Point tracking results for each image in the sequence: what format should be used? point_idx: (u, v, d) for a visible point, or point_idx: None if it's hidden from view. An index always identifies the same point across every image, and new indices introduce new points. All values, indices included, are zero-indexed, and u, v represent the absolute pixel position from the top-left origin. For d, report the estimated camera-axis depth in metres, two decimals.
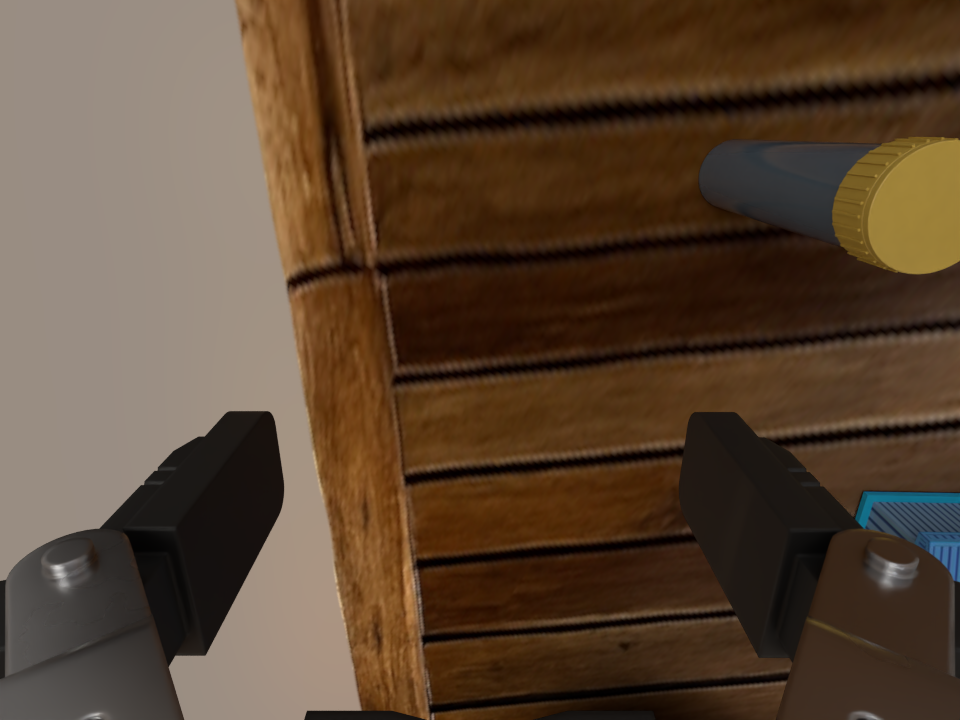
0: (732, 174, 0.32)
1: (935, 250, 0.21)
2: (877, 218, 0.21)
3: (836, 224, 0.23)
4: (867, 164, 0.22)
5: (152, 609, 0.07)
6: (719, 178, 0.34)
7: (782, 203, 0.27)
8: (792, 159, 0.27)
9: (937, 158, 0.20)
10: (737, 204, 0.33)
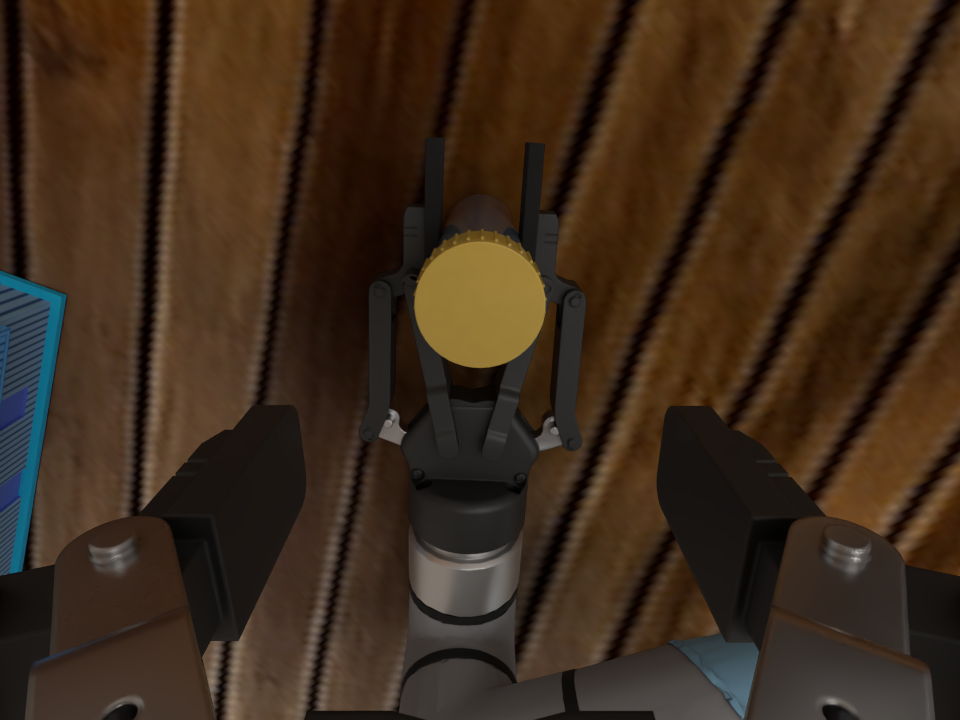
0: (500, 208, 0.32)
1: (437, 303, 0.20)
2: (493, 252, 0.20)
3: (483, 230, 0.21)
4: (534, 265, 0.22)
5: (191, 594, 0.07)
6: (494, 203, 0.33)
7: (486, 219, 0.26)
8: (520, 241, 0.27)
9: (529, 314, 0.21)
10: (471, 205, 0.31)
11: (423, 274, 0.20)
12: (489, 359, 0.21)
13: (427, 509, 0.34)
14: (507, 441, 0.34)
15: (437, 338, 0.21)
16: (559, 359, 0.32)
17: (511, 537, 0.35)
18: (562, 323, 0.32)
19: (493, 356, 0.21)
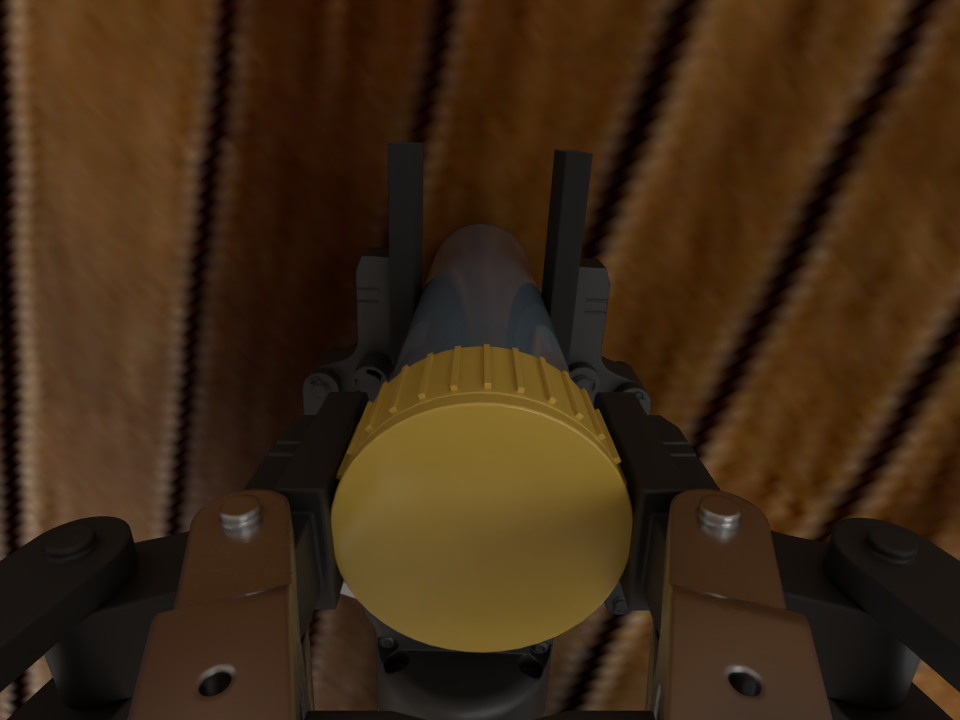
0: (512, 254, 0.20)
1: (383, 532, 0.09)
2: (514, 427, 0.08)
3: (488, 350, 0.10)
4: (600, 425, 0.10)
5: (304, 562, 0.08)
6: (503, 242, 0.22)
7: (491, 292, 0.14)
8: (552, 325, 0.15)
9: (596, 552, 0.09)
10: (467, 250, 0.20)
11: (347, 472, 0.08)
12: (502, 637, 0.10)
13: (400, 707, 0.22)
14: None
15: (385, 599, 0.09)
16: None
17: None
18: None
19: (511, 632, 0.10)
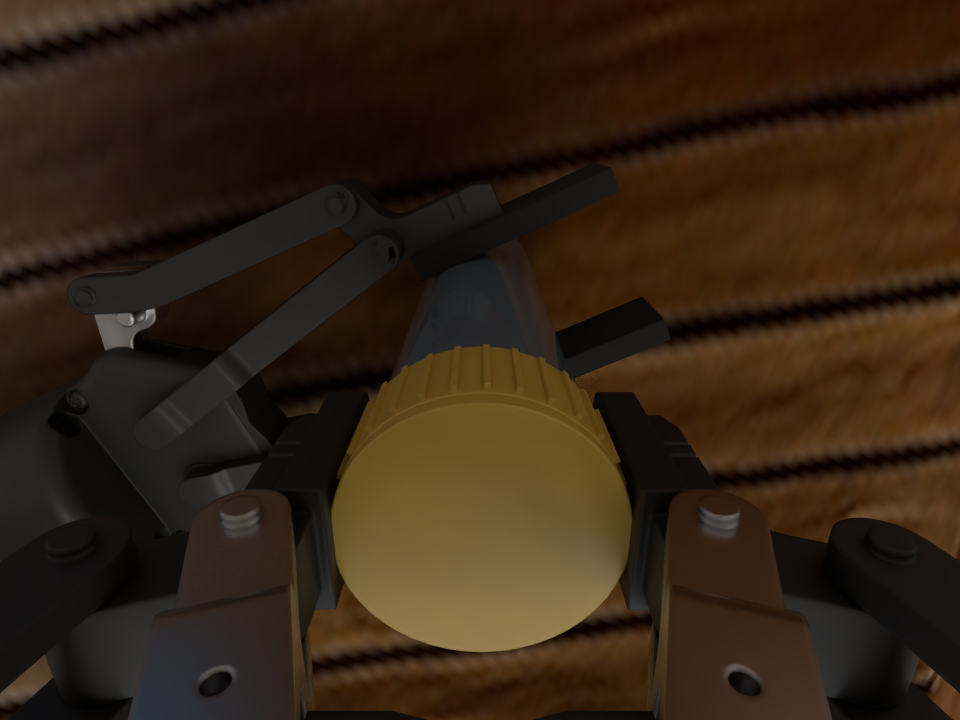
0: None
1: (383, 532, 0.09)
2: (514, 427, 0.08)
3: (488, 350, 0.10)
4: (600, 425, 0.10)
5: (304, 562, 0.08)
6: None
7: None
8: None
9: (595, 552, 0.09)
10: (529, 270, 0.20)
11: (347, 472, 0.08)
12: (502, 637, 0.10)
13: (23, 461, 0.18)
14: None
15: (385, 599, 0.09)
16: None
17: None
18: None
19: (511, 631, 0.10)
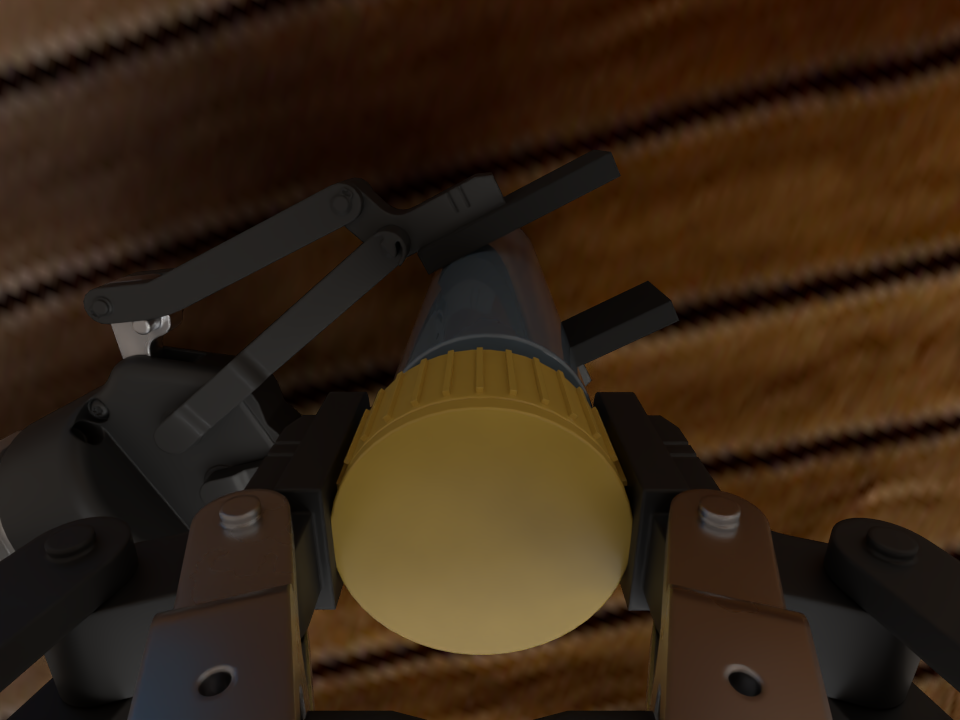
0: None
1: (431, 607, 0.09)
2: (376, 470, 0.08)
3: (363, 417, 0.10)
4: (476, 364, 0.09)
5: (303, 562, 0.08)
6: None
7: None
8: None
9: (552, 461, 0.08)
10: (533, 260, 0.20)
11: (361, 602, 0.09)
12: (603, 574, 0.09)
13: (49, 470, 0.19)
14: None
15: (501, 636, 0.10)
16: None
17: None
18: None
19: (602, 565, 0.09)
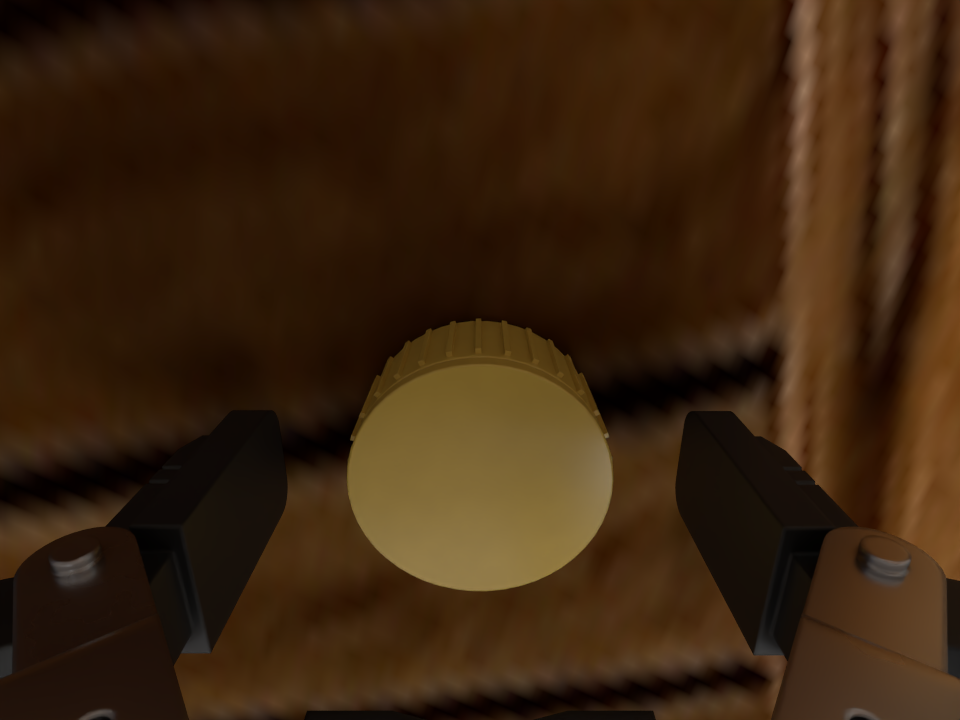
0: None
1: (435, 546, 0.11)
2: (388, 421, 0.10)
3: (374, 381, 0.11)
4: (475, 332, 0.11)
5: (158, 606, 0.07)
6: None
7: None
8: None
9: (542, 412, 0.10)
10: None
11: (374, 542, 0.11)
12: (587, 516, 0.10)
13: None
14: None
15: (497, 574, 0.11)
16: None
17: None
18: None
19: (586, 507, 0.10)
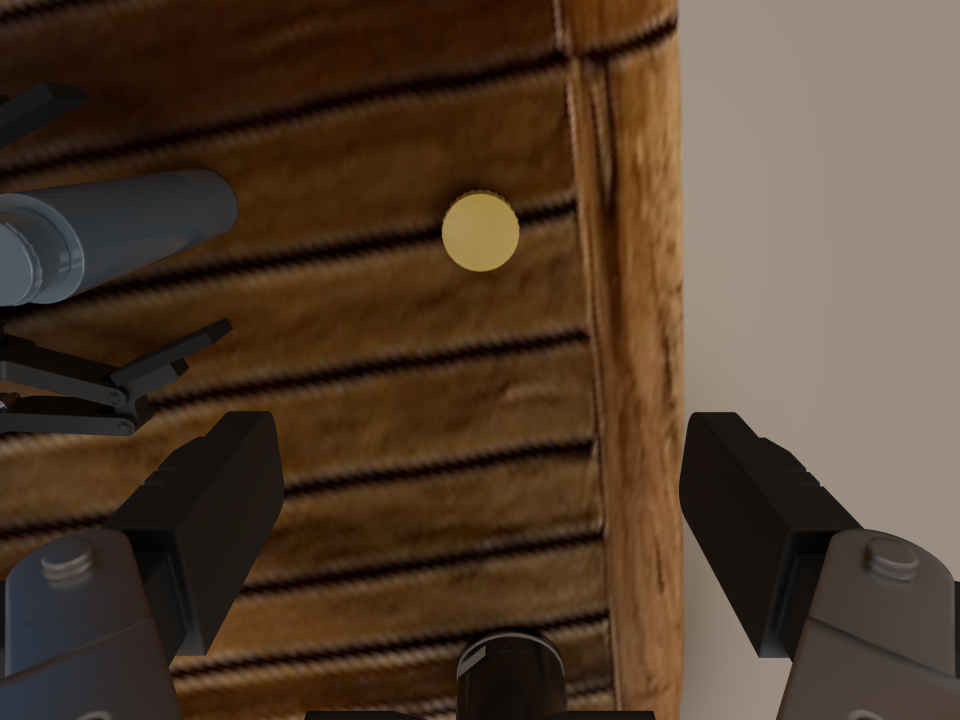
0: (201, 217, 0.32)
1: (467, 254, 0.35)
2: (455, 211, 0.35)
3: (447, 209, 0.36)
4: (479, 191, 0.36)
5: (152, 609, 0.07)
6: (213, 207, 0.33)
7: (134, 216, 0.26)
8: (148, 256, 0.27)
9: (497, 208, 0.34)
10: (183, 189, 0.31)
11: (448, 253, 0.36)
12: (512, 243, 0.35)
13: None
14: None
15: (485, 264, 0.36)
16: (64, 415, 0.34)
17: None
18: (101, 417, 0.34)
19: (511, 240, 0.35)
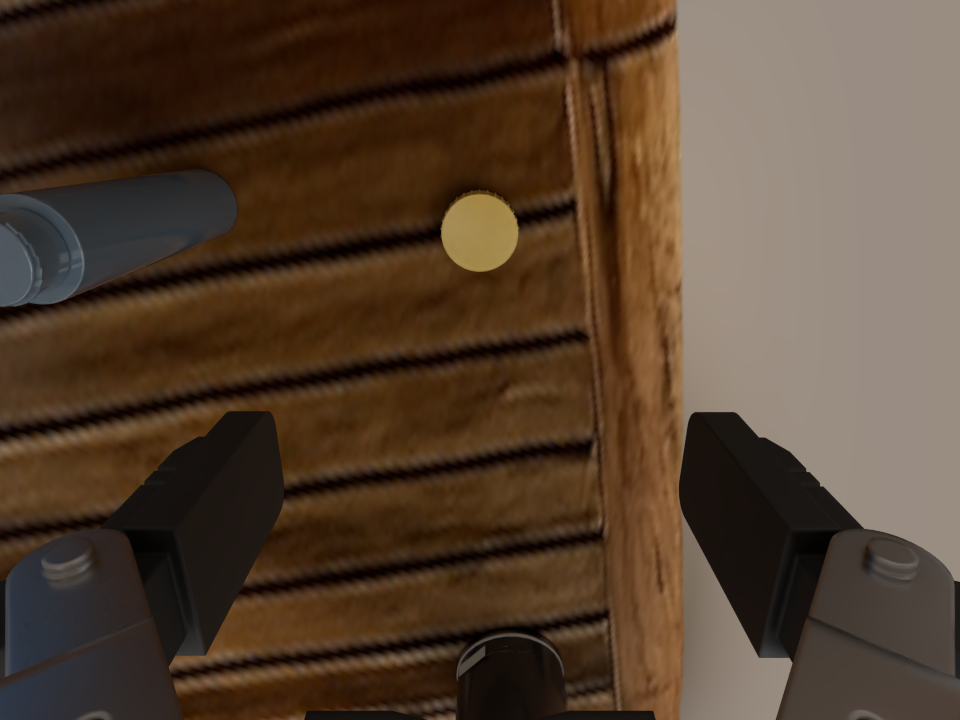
0: (201, 217, 0.32)
1: (466, 254, 0.36)
2: (454, 211, 0.35)
3: None
4: (478, 191, 0.36)
5: (152, 609, 0.07)
6: (213, 208, 0.33)
7: (134, 216, 0.26)
8: (147, 256, 0.27)
9: (496, 209, 0.35)
10: (183, 190, 0.31)
11: (448, 253, 0.36)
12: (511, 243, 0.35)
13: None
14: None
15: (485, 264, 0.36)
16: None
17: None
18: None
19: (510, 240, 0.35)
